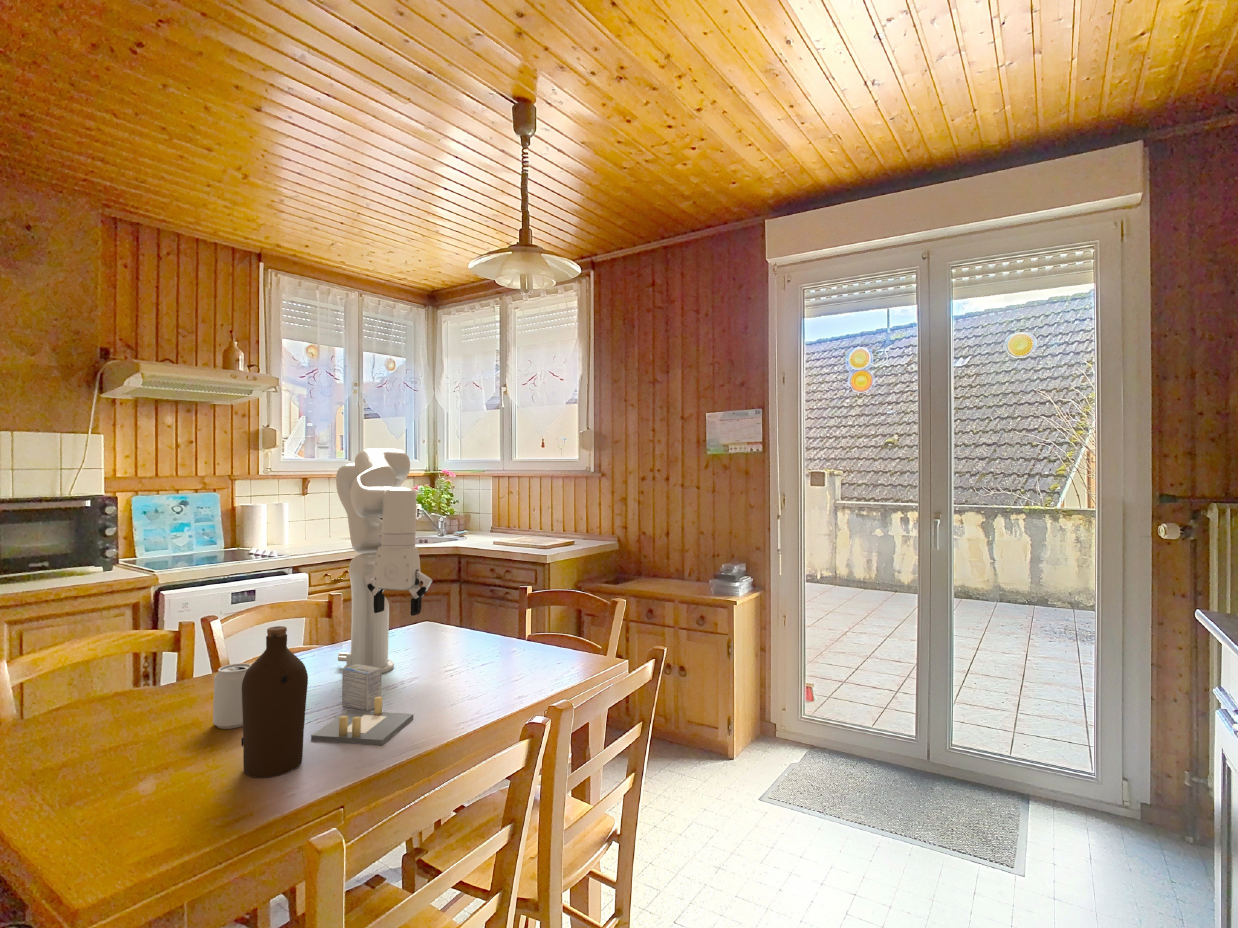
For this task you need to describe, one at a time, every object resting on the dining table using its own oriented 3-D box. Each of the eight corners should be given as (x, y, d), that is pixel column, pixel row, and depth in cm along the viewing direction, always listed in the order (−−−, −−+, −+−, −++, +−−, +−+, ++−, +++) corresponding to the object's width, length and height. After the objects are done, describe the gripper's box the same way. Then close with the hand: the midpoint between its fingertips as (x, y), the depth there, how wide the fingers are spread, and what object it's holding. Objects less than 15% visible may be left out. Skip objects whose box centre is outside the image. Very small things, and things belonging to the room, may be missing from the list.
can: (262, 719, 138) (263, 663, 139) (231, 732, 131) (232, 673, 131) (236, 714, 141) (237, 659, 141) (204, 727, 134) (205, 669, 134)
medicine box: (381, 705, 148) (382, 667, 148) (366, 711, 144) (367, 673, 144) (356, 700, 151) (357, 663, 151) (341, 706, 147) (342, 668, 147)
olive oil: (318, 757, 120) (322, 623, 121) (274, 783, 110) (278, 637, 110) (272, 750, 123) (275, 619, 124) (224, 774, 113) (228, 632, 113)
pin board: (310, 740, 128) (311, 717, 128) (348, 714, 142) (349, 693, 142) (382, 744, 126) (382, 722, 126) (413, 718, 140) (413, 697, 140)
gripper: (356, 540, 150) (355, 614, 150) (423, 543, 146) (421, 618, 146) (376, 537, 158) (374, 607, 157) (439, 540, 153) (438, 612, 153)
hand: (397, 613), depth 151 cm, fingers open, 9 cm apart
